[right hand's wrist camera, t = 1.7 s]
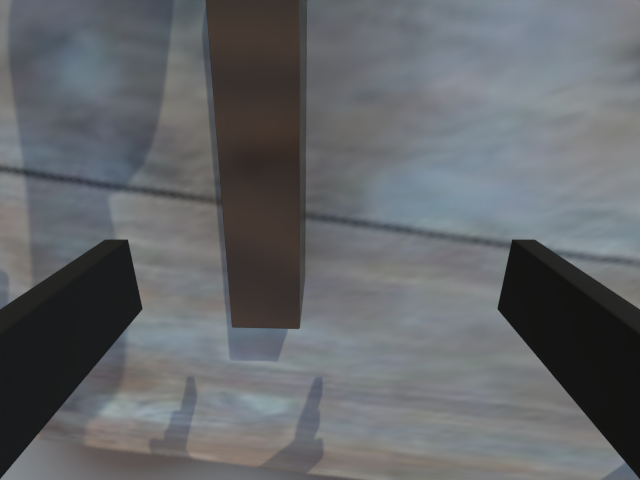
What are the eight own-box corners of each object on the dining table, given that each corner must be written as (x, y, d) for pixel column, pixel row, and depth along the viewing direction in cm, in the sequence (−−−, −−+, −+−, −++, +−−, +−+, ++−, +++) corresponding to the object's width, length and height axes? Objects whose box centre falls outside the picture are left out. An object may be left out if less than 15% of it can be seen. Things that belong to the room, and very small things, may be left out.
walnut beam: (305, 278, 34) (299, 329, 26) (251, 277, 34) (231, 327, 26) (307, -141, 23) (300, -257, 15) (229, -143, 23) (184, -259, 15)
